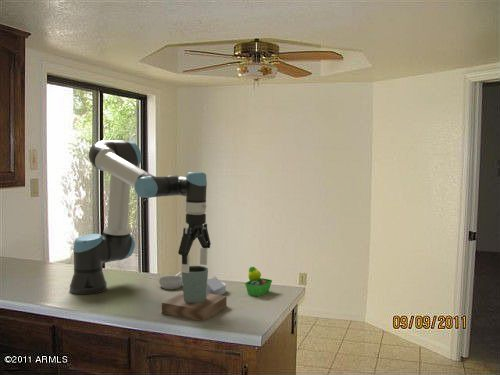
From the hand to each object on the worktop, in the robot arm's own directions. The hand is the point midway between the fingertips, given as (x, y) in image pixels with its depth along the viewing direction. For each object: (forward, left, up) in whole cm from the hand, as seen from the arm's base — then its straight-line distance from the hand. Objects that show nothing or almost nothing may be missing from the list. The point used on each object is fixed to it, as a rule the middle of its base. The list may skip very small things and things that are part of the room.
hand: (194, 268), depth 179 cm
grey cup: (0, 0, -12) cm, 12 cm away
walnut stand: (0, 0, -16) cm, 16 cm away
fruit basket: (+13, +31, -16) cm, 37 cm away
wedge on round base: (-4, +22, -16) cm, 28 cm away
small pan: (-26, +26, -16) cm, 40 cm away
